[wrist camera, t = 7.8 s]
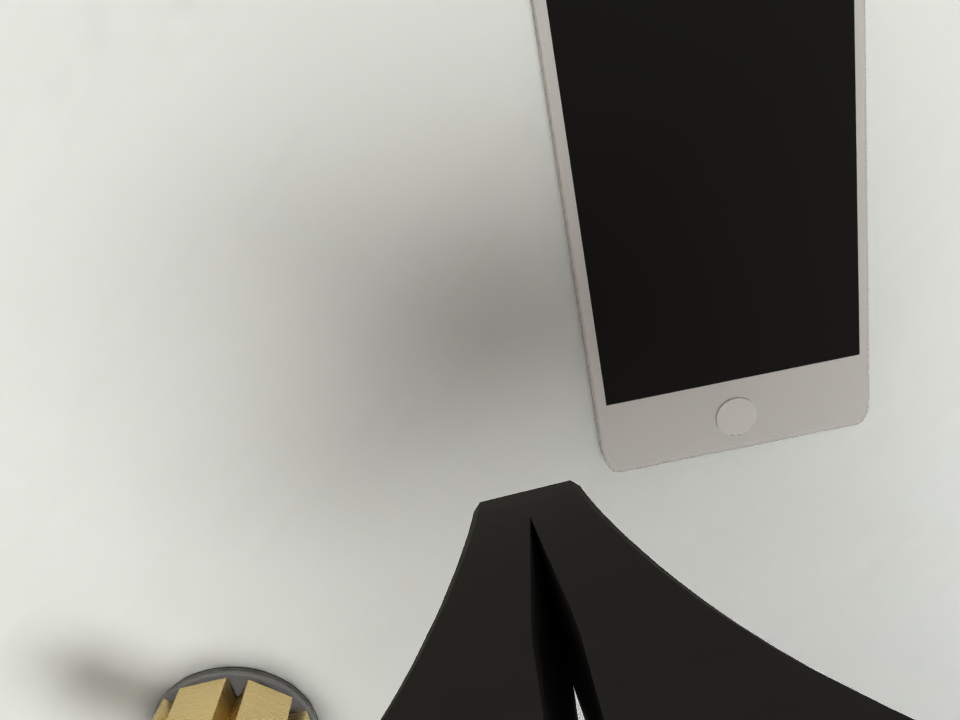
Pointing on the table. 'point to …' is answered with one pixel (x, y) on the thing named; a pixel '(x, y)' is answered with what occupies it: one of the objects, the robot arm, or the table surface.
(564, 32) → the smartphone
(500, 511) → the robot arm
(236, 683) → the base
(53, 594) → the table surface
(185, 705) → the ring nut
